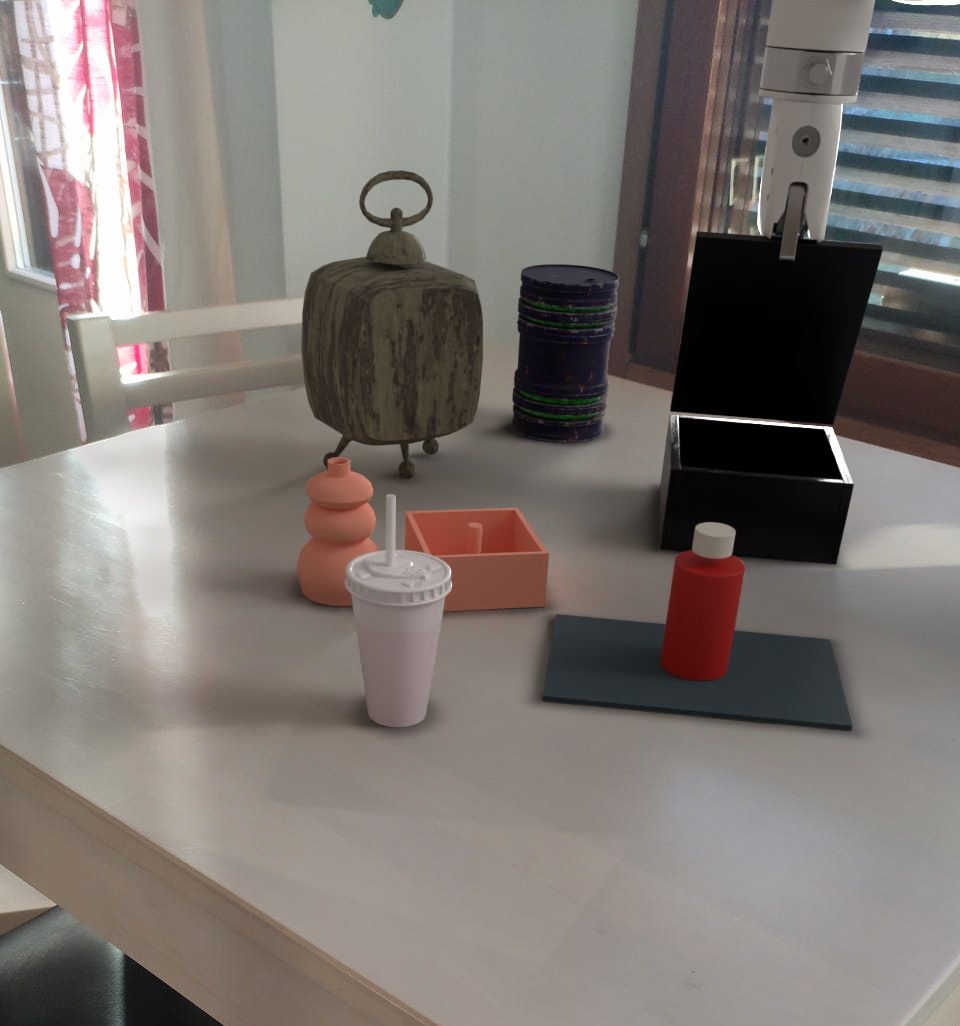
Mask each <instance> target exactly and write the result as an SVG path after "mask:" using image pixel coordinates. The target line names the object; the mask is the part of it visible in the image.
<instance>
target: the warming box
mask: <svg viewBox="0 0 960 1026" xmlns="http://www.w3.org/2000/svg"><path fill="white" fill-rule="evenodd" d="M668 415H669V416H668V423H667V431H666V436H665V437H666V438H665V444H664V445H665V446H664V453H663V462H662V469H661V476H660V484H659V549H660V550H665V551H676V552H677V551H678V552H685V551H690V550H692V546H693V539H694V532H695V527H696V526H697V525H698V524H700V523H706V522H715V523H722V524H725V525H728V526H731V527H732V528H734V529H735V531H736V533H735V539H734V545H733V551H732V555H733V556H735V557H744V558H755V559H766V560H777V561H778V560H779V561H790V562H799V563H800V562H801V563H811V564H823V565H837V564H838V559H839V555H840V551H841V550H840V549H841V546H842V541H843V537H844V531H845V528H846V523H847V518H848V514H849V510H850V505H851V500H852V497H853V493H854V487H855V483H854V480H853V478H852V475H851V472H850V470H849V467H848V465H847V462H846V460H845V457H844V454H843V452H842V449H841V446H840V445H839V441H838V439H837V436H836V433H835V431H834V429H833V427H831V426H817V425H805V424H792V423H782V422H781V423H780V422H769V421H768V422H766V421H755V420H743V419H731V418H720V417H706V416H694V415H693V416H692V415H684V414H682V415H681V414H679V415H678V414H671V413H670V414H668Z"/></svg>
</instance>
